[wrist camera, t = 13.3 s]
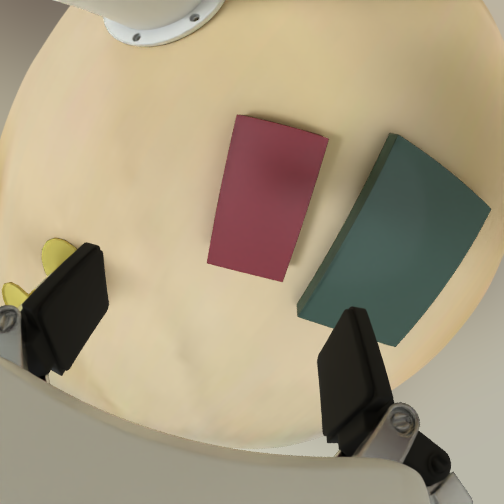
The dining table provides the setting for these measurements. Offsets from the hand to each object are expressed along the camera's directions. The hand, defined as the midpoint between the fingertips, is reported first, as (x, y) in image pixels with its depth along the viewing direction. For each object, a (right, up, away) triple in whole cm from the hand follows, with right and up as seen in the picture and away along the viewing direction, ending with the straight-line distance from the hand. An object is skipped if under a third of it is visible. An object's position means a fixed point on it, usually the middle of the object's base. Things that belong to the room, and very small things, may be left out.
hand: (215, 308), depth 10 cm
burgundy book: (+2, +7, +14) cm, 16 cm away
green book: (+16, +2, +16) cm, 23 cm away
